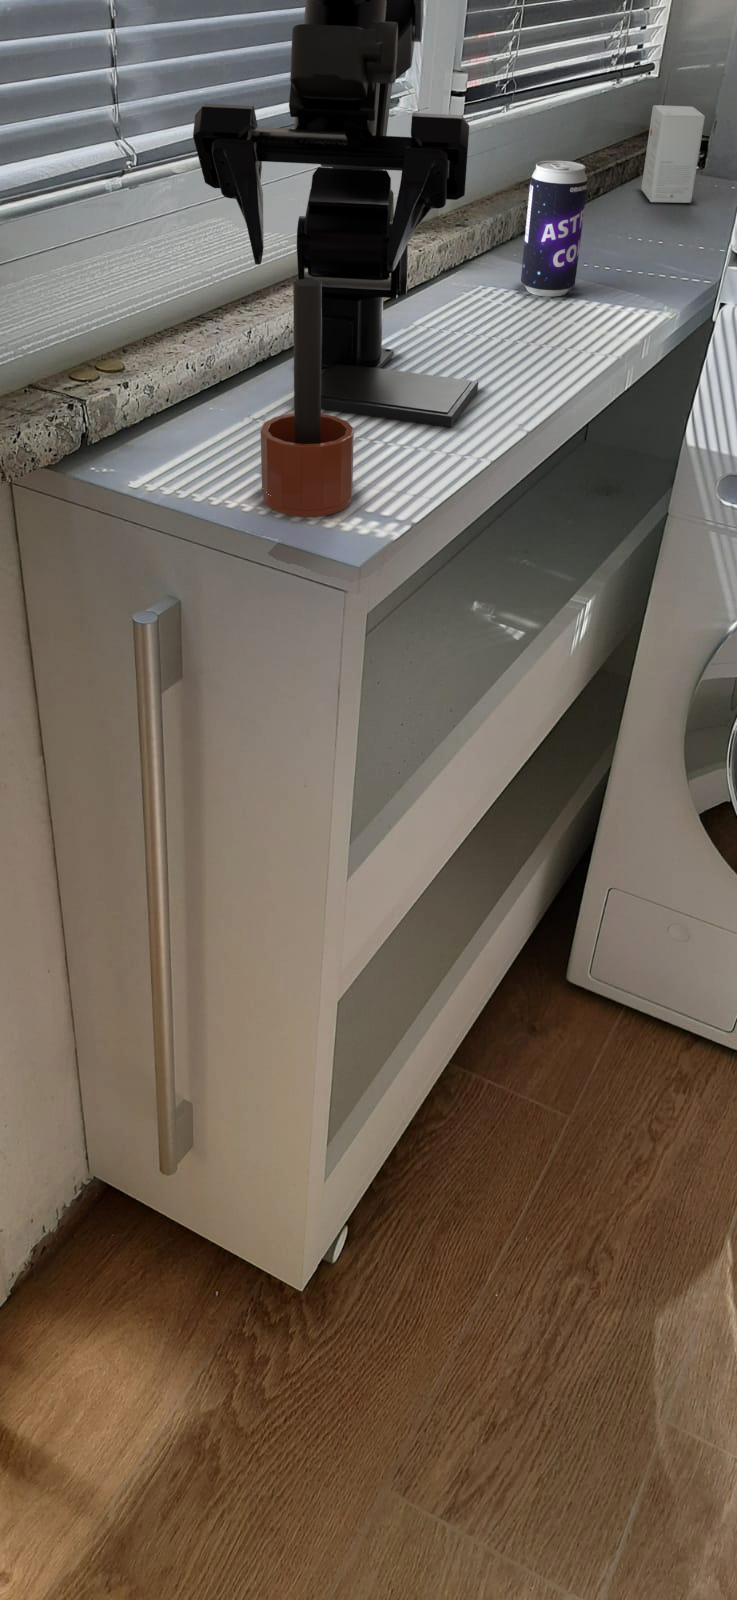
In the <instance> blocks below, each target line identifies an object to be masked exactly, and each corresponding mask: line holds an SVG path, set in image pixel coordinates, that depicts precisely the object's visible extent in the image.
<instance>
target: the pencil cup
mask: <svg viewBox="0 0 737 1600" xmlns="http://www.w3.org/2000/svg"><path fill="white" fill-rule="evenodd" d="M354 435H355V429H354V427H353V426H352V425H351V424H350V423H349V422H348V421H347V420H345V419H342V418H339V417H336V416H334V415H330V414H323V413H321V444H298V443H294V412H293V413H288V414H282V415H278V416H274V417H272V418H271V419H267V420H266V421H265V422H263V424H262V427H261V429H260V462H261V463H260V464H261V465H260V466H261V469H260V470H261V493H262V501H263V503H264V504H265V505H266V507H268V508H269V509H271V510H273V511H275V512H277V513H280V514H283V515H286V516H287V515H288V516H292V517H300V518H301V517H302V518H315V517H316V518H317V517H325V516H331V515H334V514H337V513H340V512H342V511H344V510H345V509H346V508H348V507H349V506H350V504H352V503H351V502H352V495H353V494H352V493H353V487H354V485H353V482H354V479H353V478H354V440H355V439H354ZM263 488H264V489H263ZM266 492H267V493H266ZM268 494H269V495H268ZM270 495H271V496H270Z"/></svg>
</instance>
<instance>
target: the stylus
mask: <svg viewBox="0 0 737 1600" xmlns="http://www.w3.org/2000/svg"><path fill="white" fill-rule="evenodd" d="M292 287H293V289H292V290H293V291H292V292H293V293H292V295H293V296H292V297H293V298H292V299H293V300H292V301H293V303H292V304H293V413H294V443H298V444H321V414H322V409H321V373H322V369H321V329H322V283H321V282H320V281H318V280H314V279H300V280H299V279H297V280H294V281H293V285H292Z"/></svg>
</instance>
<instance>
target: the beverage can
mask: <svg viewBox="0 0 737 1600" xmlns="http://www.w3.org/2000/svg"><path fill="white" fill-rule="evenodd" d="M585 170H586V166H585V165H584V164H582V163H579V162H575V161H570V160H542V161H538V162H537V163H536V164H535V169H534V171H533V173H532V175H531V177H530V184H529V190H528V192H529V193H528V200H527V201H528V203H527V211H526V222H525V233H524V243H523V244H524V245H523V253H522V265H521V274H520V282H521V284H523V286H524V287H525V288H526V291H527V292H528V293H530V294H532V295H535V296H540V297H549V298H551V297H552V298H553V297H562V296H565V295H567V293H568V291H570V290H571V289H572V288H573V287H574V286H575V285H576V280H577V271H578V265H579V264H578V262H579V255H580V247H581V239H582V231H583V224H584V223H583V222H584V215H585V207H586V200H587V199H586V198H587V192H588V191H587V189H588V184H589V183H588V178H587V175H586V172H585Z"/></svg>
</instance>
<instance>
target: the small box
mask: <svg viewBox="0 0 737 1600" xmlns="http://www.w3.org/2000/svg"><path fill="white" fill-rule="evenodd" d="M705 119H706V115H704V114H703V113H701V112H700V111H699V110H698V109H697V108H695V106H690V105H689V106H687V105H658V104H657V105H656V104H655V105H653V106H652V110H651V116H650V122H649V123H650V124H649V131H648V138H647V145H646V152H645V159H644V166H643V172H642V173H643V174H642V181H641V188H640V189H641V191H642V193H643V194H644V195H645V197H646V198H647V199H648V200H649V202H650V203H671V204H672V203H674V204H675V203H676V204H691V203H692V202H693V201H692V199H693V194H694V190H695V189H694V187H695V182H696V177H697V170H698V164H699V157H700V150H701V144H702V137H703V132H704V125H705Z"/></svg>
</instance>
